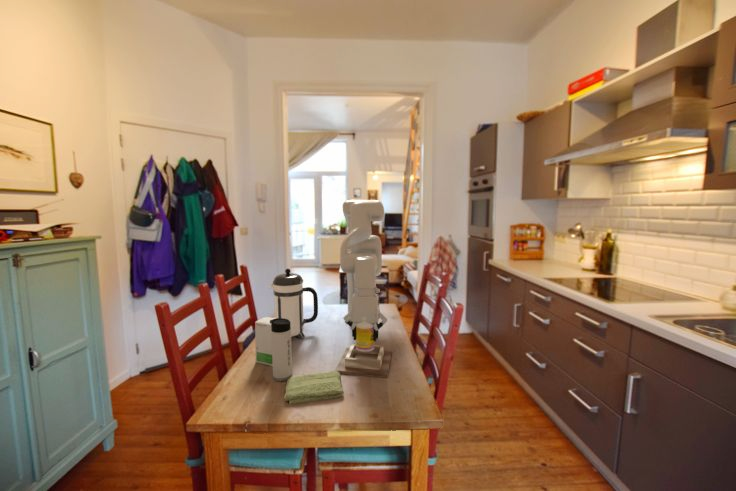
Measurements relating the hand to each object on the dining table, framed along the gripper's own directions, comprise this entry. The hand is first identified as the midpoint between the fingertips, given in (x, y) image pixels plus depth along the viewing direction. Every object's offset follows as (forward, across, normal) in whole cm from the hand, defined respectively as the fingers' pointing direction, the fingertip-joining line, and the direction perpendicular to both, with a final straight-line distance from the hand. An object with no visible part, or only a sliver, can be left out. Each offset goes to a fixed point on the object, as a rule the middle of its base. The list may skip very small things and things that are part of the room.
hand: (365, 338), depth 118 cm
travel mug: (+9, +26, +14) cm, 31 cm away
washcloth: (+10, +13, +20) cm, 25 cm away
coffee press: (+9, +36, -20) cm, 42 cm away
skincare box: (+9, +35, +4) cm, 36 cm away
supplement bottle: (+4, 0, 0) cm, 4 cm away
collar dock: (+9, 0, 0) cm, 9 cm away
